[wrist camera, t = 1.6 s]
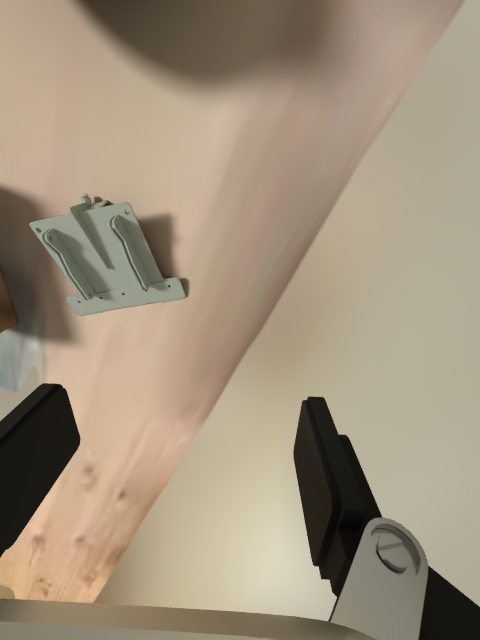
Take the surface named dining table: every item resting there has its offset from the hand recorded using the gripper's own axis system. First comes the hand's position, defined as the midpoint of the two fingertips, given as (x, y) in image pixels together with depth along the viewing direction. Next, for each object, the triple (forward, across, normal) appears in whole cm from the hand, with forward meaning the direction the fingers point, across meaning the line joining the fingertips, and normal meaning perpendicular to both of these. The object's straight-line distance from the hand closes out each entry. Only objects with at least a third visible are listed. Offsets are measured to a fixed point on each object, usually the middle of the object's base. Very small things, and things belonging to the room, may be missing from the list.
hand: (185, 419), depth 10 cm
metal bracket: (+25, +14, 0) cm, 29 cm away
